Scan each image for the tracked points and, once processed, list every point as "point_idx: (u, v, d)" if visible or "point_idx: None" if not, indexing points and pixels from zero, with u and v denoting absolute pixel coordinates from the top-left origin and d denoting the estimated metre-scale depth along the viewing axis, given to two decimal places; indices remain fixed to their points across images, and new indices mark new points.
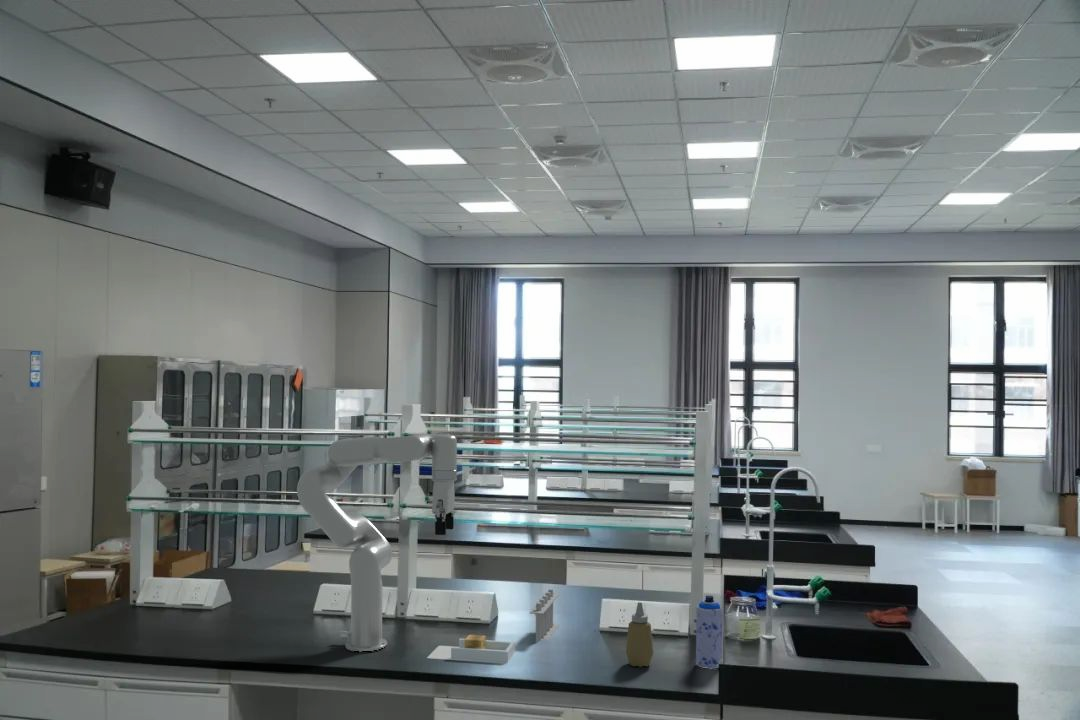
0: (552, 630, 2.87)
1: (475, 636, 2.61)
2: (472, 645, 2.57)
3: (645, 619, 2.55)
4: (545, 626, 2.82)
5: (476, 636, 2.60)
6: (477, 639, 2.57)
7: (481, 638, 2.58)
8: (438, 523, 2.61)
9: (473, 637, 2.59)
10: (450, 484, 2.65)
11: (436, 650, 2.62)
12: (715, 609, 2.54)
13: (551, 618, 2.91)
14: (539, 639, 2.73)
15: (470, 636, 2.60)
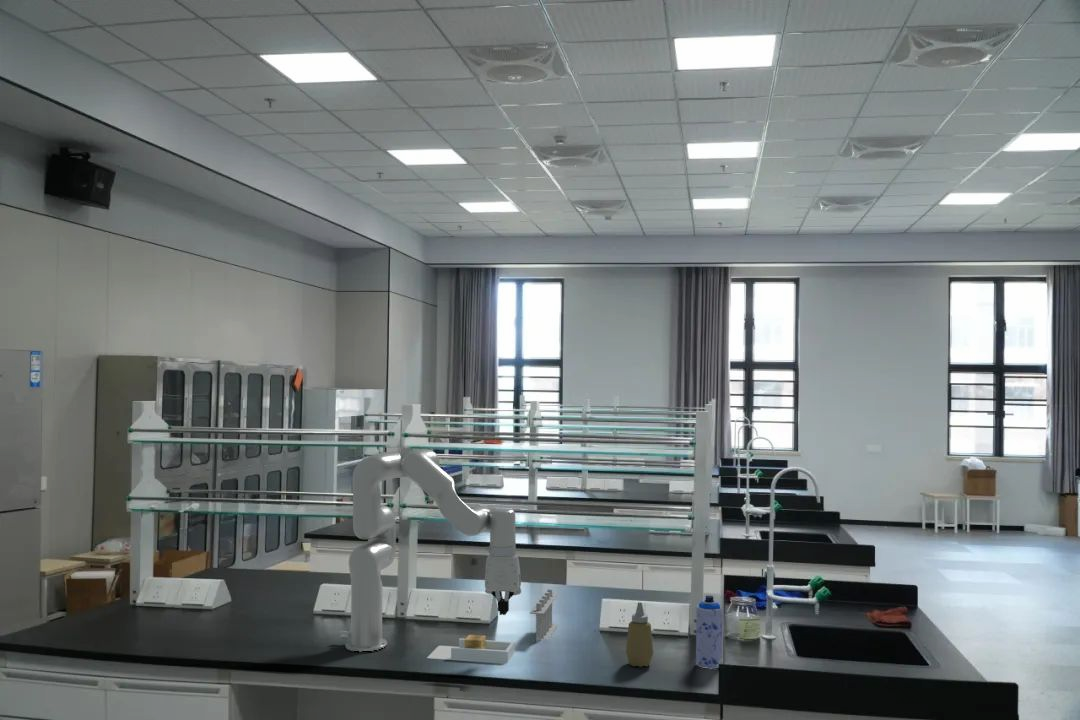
0: (551, 630, 2.87)
1: (475, 636, 2.61)
2: (472, 645, 2.57)
3: (645, 619, 2.55)
4: (545, 626, 2.82)
5: (476, 636, 2.60)
6: (477, 639, 2.57)
7: (481, 638, 2.58)
8: (507, 602, 2.57)
9: (473, 637, 2.59)
10: None
11: (436, 650, 2.62)
12: (715, 609, 2.54)
13: (550, 618, 2.91)
14: (539, 639, 2.73)
15: (470, 636, 2.60)
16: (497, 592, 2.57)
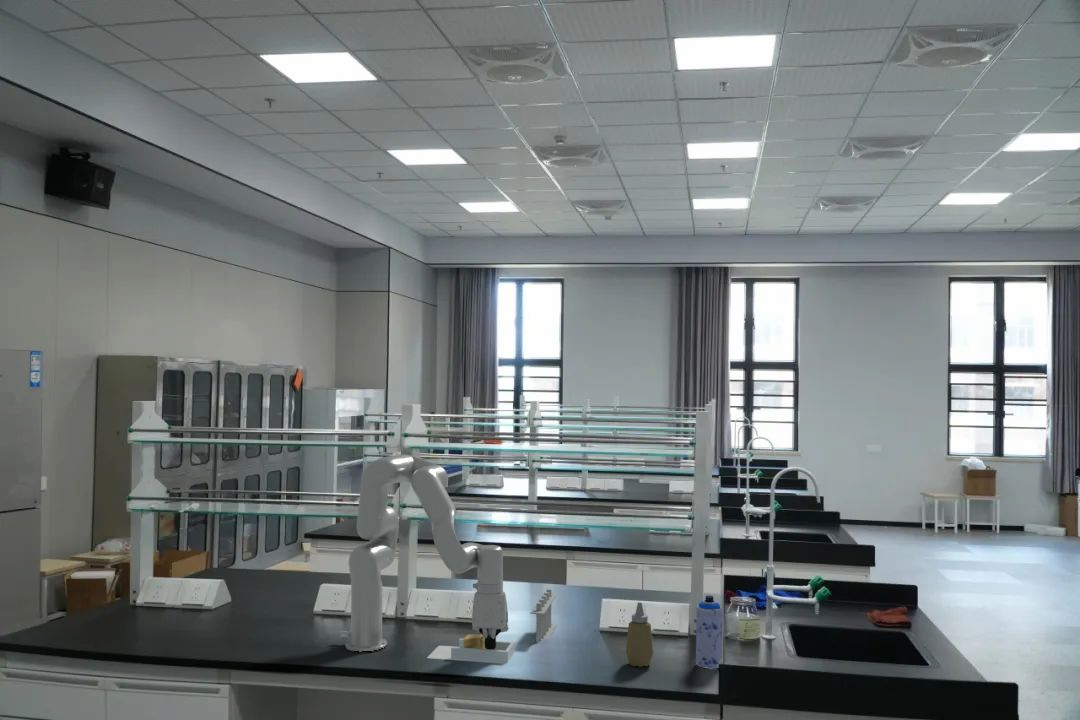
0: (551, 630, 2.87)
1: (474, 635, 2.61)
2: (471, 644, 2.57)
3: (645, 619, 2.55)
4: (544, 626, 2.82)
5: (475, 635, 2.60)
6: (476, 638, 2.58)
7: (480, 637, 2.58)
8: (494, 639, 2.58)
9: (472, 636, 2.59)
10: None
11: (436, 650, 2.62)
12: (715, 609, 2.54)
13: (549, 618, 2.91)
14: (539, 639, 2.73)
15: (469, 636, 2.60)
16: (484, 629, 2.57)
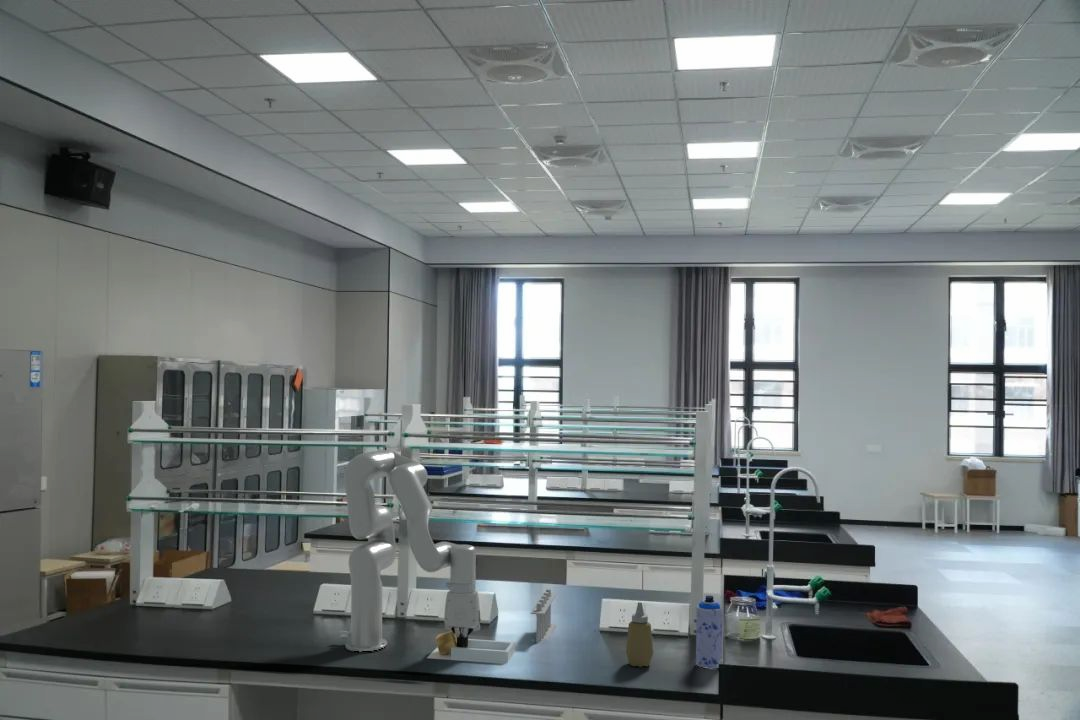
0: (550, 630, 2.87)
1: (445, 633, 2.62)
2: (444, 641, 2.58)
3: (645, 619, 2.55)
4: (544, 626, 2.82)
5: (446, 632, 2.62)
6: (447, 634, 2.59)
7: (450, 632, 2.60)
8: (466, 638, 2.59)
9: (443, 634, 2.61)
10: None
11: (436, 650, 2.62)
12: (715, 609, 2.54)
13: (549, 618, 2.91)
14: (540, 639, 2.73)
15: (440, 634, 2.62)
16: (456, 628, 2.59)
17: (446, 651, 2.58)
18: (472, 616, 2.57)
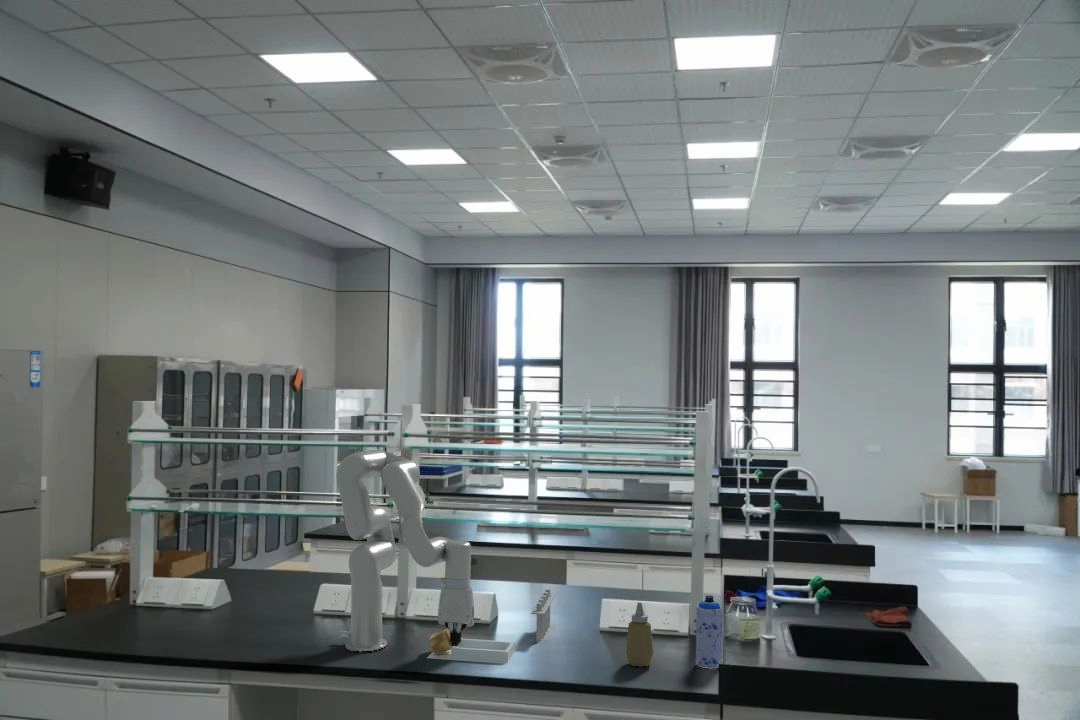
0: (550, 630, 2.87)
1: (438, 632, 2.62)
2: (438, 641, 2.58)
3: (645, 619, 2.55)
4: (544, 626, 2.82)
5: (439, 632, 2.62)
6: (440, 634, 2.59)
7: (444, 632, 2.60)
8: (460, 633, 2.60)
9: (437, 634, 2.61)
10: None
11: None
12: (715, 609, 2.54)
13: (548, 618, 2.91)
14: (540, 639, 2.73)
15: (433, 635, 2.62)
16: (450, 623, 2.59)
17: (440, 651, 2.58)
18: (466, 612, 2.57)
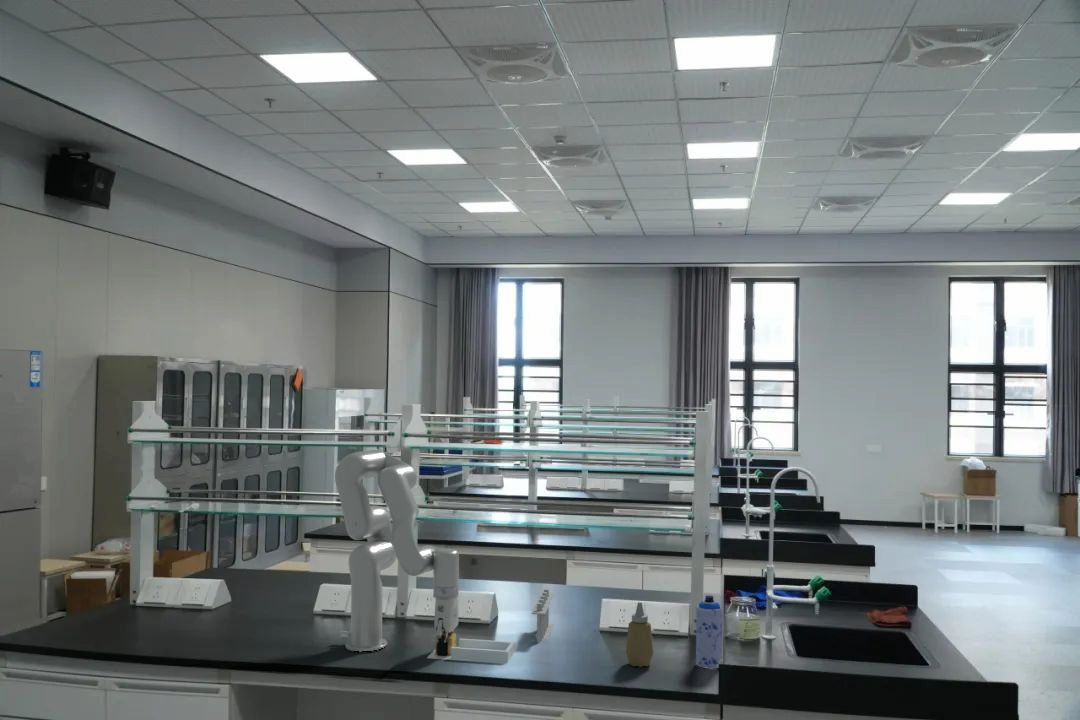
0: (549, 630, 2.87)
1: None
2: None
3: (645, 619, 2.55)
4: (543, 626, 2.82)
5: (447, 634, 2.62)
6: (448, 637, 2.59)
7: (452, 636, 2.60)
8: None
9: (444, 635, 2.61)
10: None
11: None
12: (715, 609, 2.54)
13: (547, 618, 2.91)
14: (540, 639, 2.73)
15: None
16: None
17: None
18: (457, 614, 2.64)
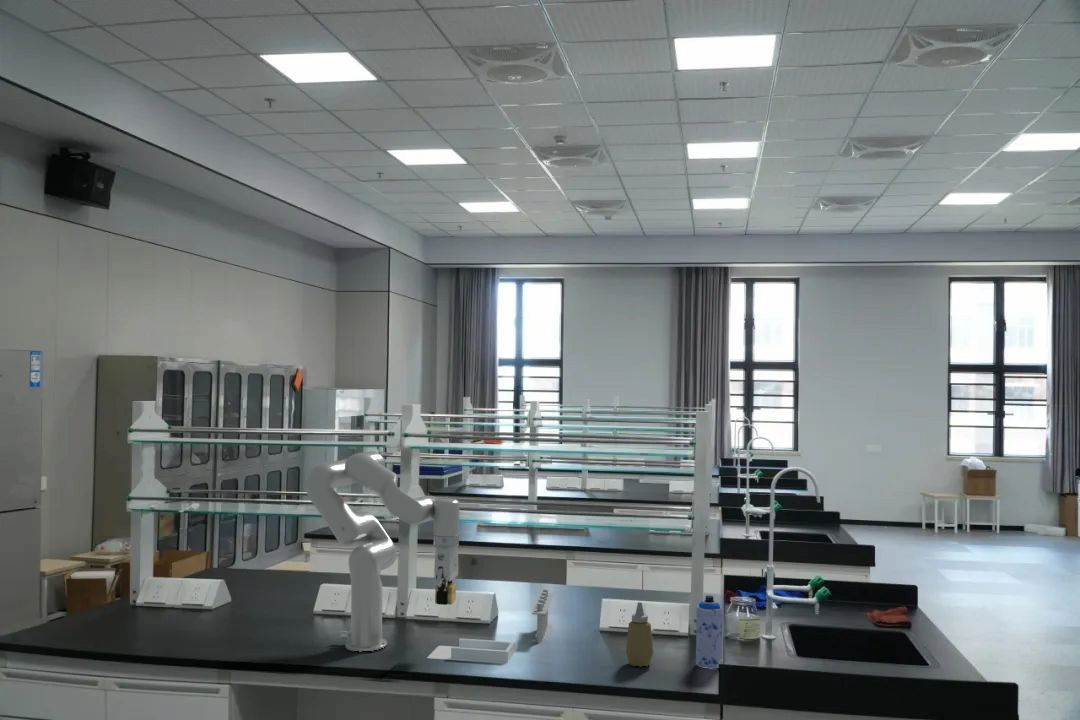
0: (548, 630, 2.87)
1: None
2: None
3: (645, 619, 2.55)
4: (543, 626, 2.82)
5: None
6: (448, 586, 2.59)
7: (452, 585, 2.61)
8: None
9: None
10: None
11: (436, 650, 2.62)
12: (715, 609, 2.54)
13: (546, 618, 2.90)
14: (541, 640, 2.73)
15: None
16: (446, 582, 2.58)
17: None
18: (457, 564, 2.64)
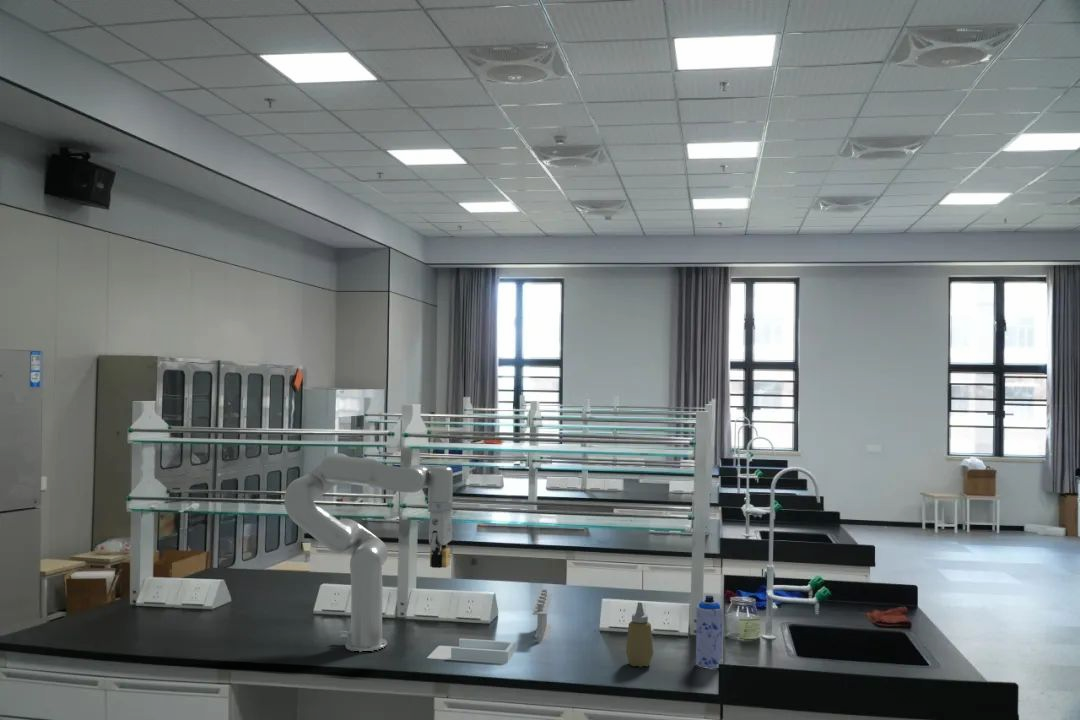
0: (547, 630, 2.87)
1: None
2: None
3: (645, 619, 2.55)
4: (543, 626, 2.82)
5: (441, 548, 2.72)
6: (442, 550, 2.69)
7: (446, 549, 2.70)
8: None
9: (438, 549, 2.71)
10: None
11: (436, 650, 2.62)
12: (715, 609, 2.54)
13: (545, 618, 2.90)
14: (541, 640, 2.73)
15: None
16: (441, 546, 2.68)
17: None
18: (451, 529, 2.74)
